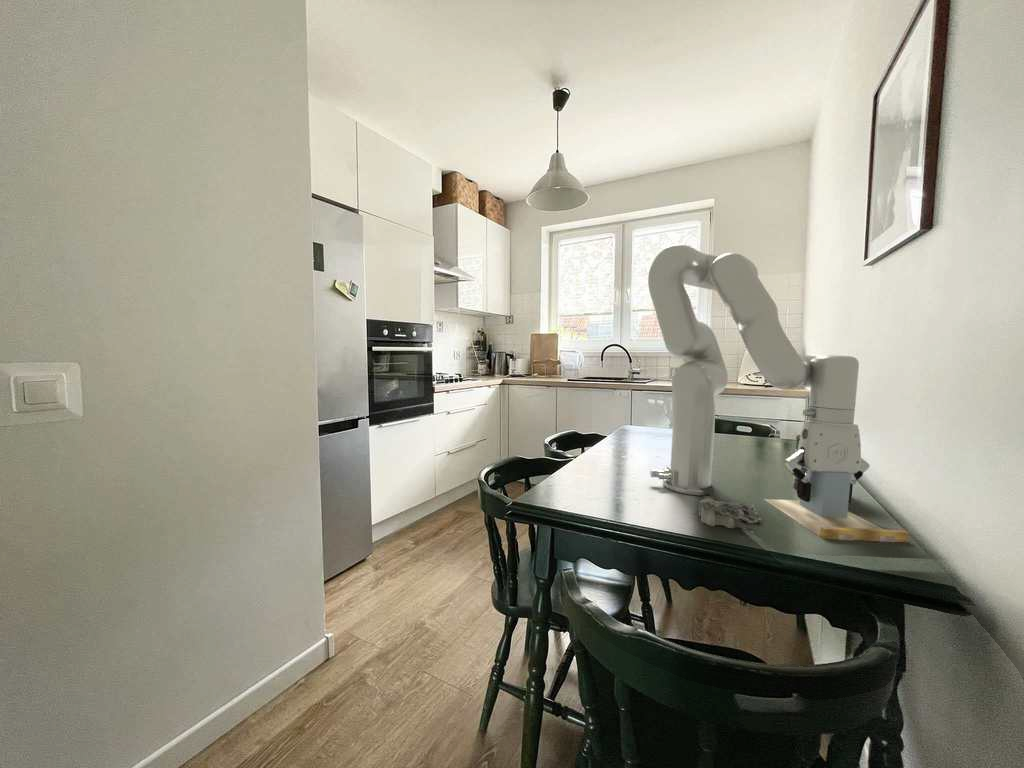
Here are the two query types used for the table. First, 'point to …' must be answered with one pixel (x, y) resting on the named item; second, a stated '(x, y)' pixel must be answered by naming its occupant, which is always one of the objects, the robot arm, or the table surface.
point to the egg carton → (727, 513)
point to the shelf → (838, 524)
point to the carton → (829, 494)
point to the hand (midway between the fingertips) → (823, 499)
